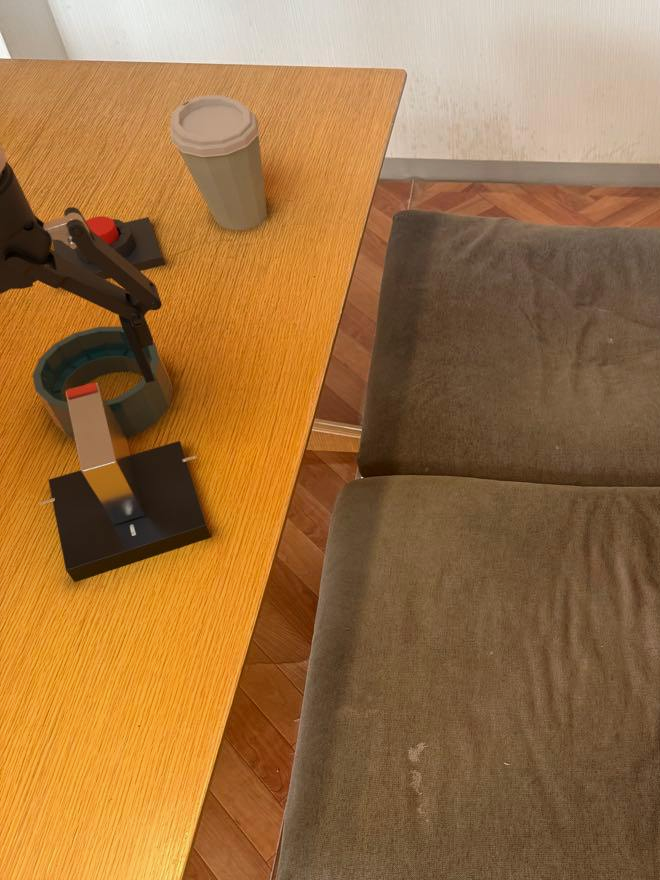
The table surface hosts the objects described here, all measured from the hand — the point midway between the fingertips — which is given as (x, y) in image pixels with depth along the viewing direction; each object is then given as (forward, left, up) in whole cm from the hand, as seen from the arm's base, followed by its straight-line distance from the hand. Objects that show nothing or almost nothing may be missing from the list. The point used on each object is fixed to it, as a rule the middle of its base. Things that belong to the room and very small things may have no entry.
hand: (69, 393), depth 80 cm
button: (+5, +40, -11) cm, 42 cm away
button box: (+5, +40, -15) cm, 43 cm away
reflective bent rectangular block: (0, 0, -12) cm, 12 cm away
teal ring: (+1, +14, -15) cm, 20 cm away
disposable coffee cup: (+22, +42, -15) cm, 50 cm away
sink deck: (0, -1, -15) cm, 15 cm away
